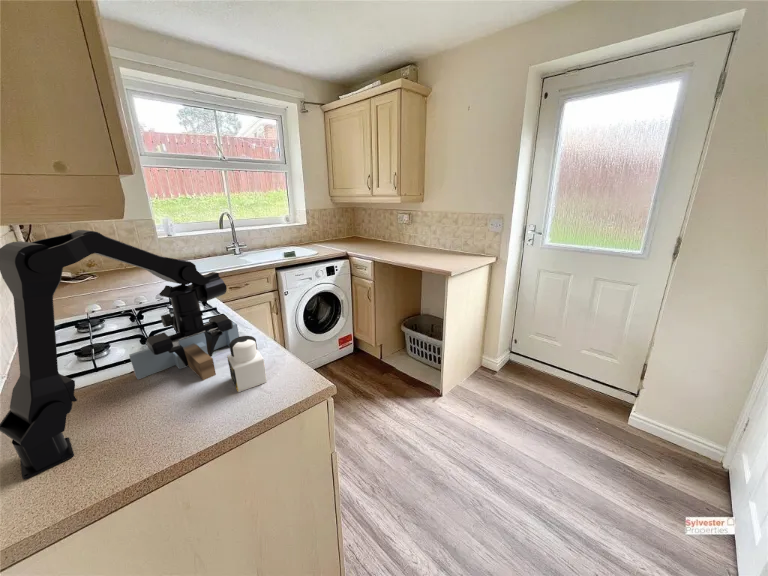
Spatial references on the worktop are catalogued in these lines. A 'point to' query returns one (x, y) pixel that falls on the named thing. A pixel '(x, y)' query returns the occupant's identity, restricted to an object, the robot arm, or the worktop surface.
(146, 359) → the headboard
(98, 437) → the worktop surface
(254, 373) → the medicine bottle
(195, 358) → the brown wooden block
